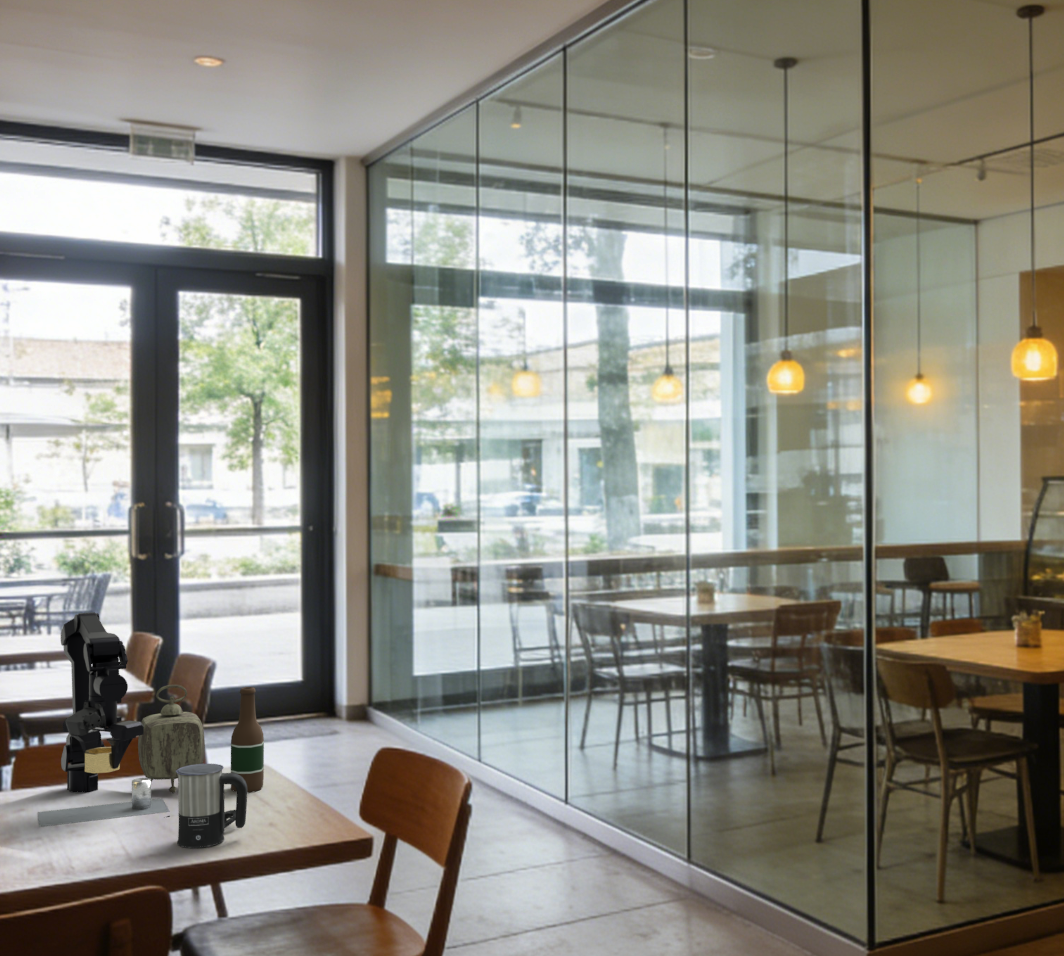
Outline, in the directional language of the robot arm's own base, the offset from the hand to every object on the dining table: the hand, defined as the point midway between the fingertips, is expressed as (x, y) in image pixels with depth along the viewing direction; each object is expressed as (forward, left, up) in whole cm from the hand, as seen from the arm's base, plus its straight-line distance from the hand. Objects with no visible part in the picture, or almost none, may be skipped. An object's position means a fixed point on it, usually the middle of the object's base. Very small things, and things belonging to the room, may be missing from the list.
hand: (102, 766), depth 243 cm
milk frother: (+30, -1, -11) cm, 32 cm away
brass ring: (0, 0, 0) cm, 1 cm away
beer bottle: (+13, +32, -11) cm, 36 cm away
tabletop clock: (-2, +23, -11) cm, 26 cm away
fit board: (0, 0, -11) cm, 11 cm away
